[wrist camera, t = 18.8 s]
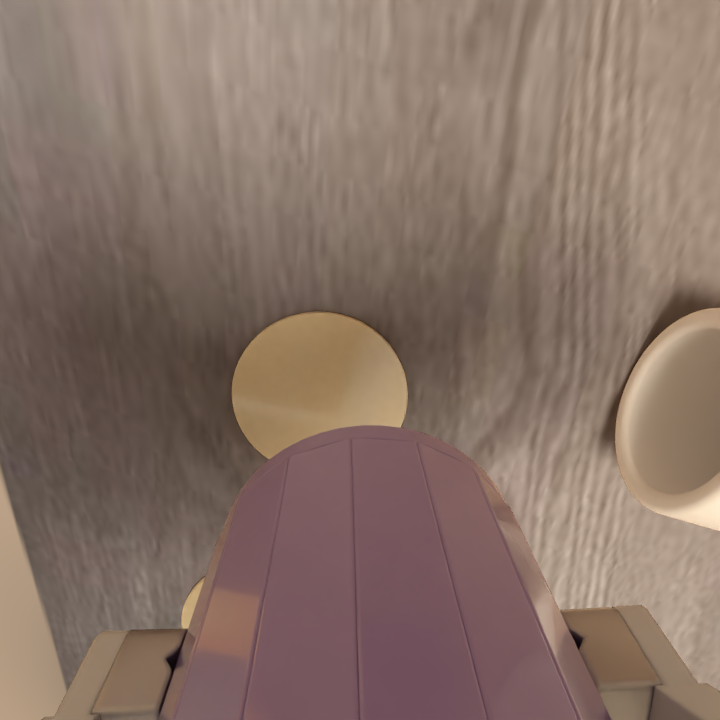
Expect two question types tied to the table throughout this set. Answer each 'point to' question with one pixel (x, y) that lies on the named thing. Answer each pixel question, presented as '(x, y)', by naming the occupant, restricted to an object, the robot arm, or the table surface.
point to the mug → (675, 422)
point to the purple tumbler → (376, 596)
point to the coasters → (313, 386)
